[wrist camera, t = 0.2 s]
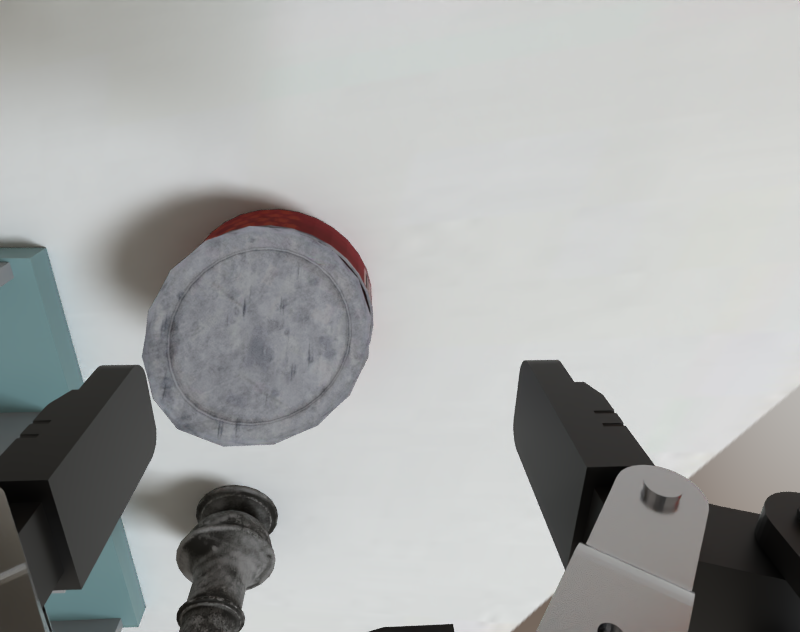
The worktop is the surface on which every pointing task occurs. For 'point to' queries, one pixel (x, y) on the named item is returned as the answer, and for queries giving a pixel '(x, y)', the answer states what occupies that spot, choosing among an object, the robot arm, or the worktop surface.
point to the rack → (23, 401)
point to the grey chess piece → (225, 557)
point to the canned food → (259, 330)
